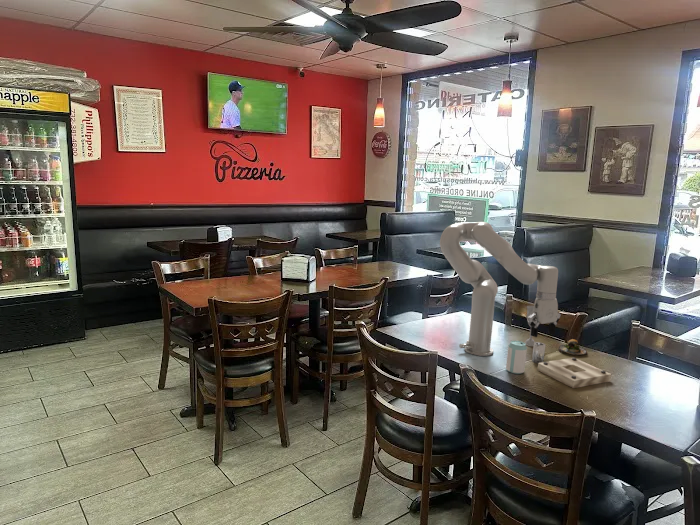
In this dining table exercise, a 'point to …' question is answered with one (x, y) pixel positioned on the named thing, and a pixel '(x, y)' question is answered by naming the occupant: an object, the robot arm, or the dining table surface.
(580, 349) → the burger
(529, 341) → the chalice
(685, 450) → the dining table surface
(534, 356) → the bushing
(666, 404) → the dining table surface
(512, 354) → the can
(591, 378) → the plate
